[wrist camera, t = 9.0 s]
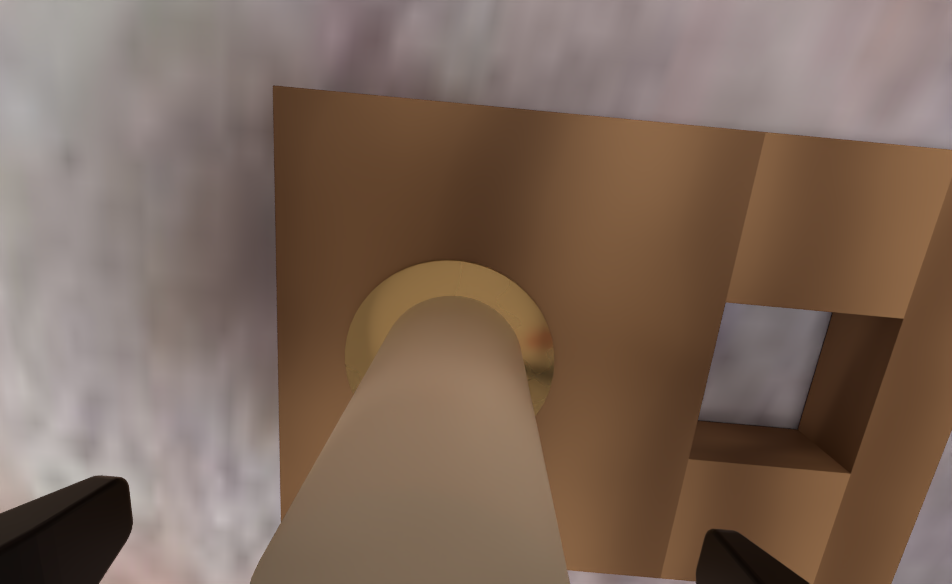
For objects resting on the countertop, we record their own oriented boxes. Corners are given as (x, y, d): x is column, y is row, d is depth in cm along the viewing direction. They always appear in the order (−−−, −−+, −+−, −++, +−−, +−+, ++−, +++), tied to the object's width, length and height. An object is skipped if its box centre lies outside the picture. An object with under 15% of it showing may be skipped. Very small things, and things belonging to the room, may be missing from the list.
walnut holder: (961, 161, 14) (1057, 159, 12) (831, 540, 18) (885, 598, 16) (308, 99, 14) (272, 85, 12) (309, 493, 18) (281, 544, 15)
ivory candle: (549, 339, 13) (642, 584, 5) (477, 447, 14) (471, 788, 6) (424, 269, 13) (333, 430, 5) (358, 385, 14) (196, 672, 6)
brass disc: (594, 326, 13) (595, 328, 13) (486, 483, 15) (486, 487, 14) (407, 218, 13) (405, 219, 12) (312, 394, 14) (310, 396, 14)
